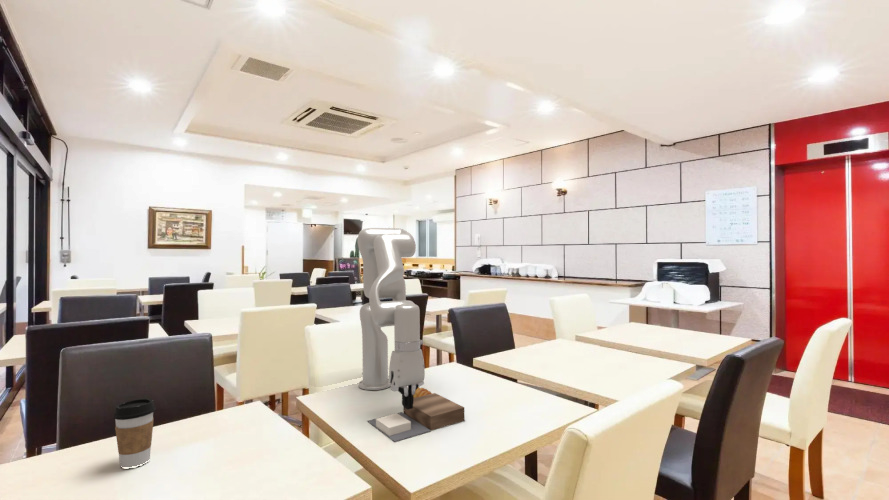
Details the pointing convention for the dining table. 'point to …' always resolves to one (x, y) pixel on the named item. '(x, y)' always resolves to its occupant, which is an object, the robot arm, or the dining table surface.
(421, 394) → the pastry
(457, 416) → the serving board
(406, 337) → the robot arm
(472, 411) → the dining table surface
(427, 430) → the mat
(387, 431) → the tile
